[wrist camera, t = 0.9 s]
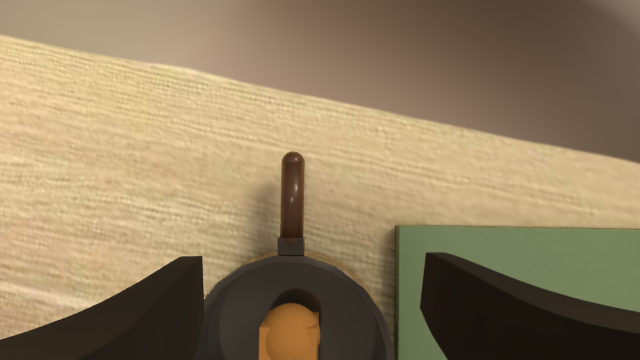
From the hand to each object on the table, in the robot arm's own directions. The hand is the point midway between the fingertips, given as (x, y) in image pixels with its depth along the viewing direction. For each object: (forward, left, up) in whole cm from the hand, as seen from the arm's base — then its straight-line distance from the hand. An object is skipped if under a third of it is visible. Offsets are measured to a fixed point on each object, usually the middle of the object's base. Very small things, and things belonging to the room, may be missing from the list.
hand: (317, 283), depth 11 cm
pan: (-8, +2, -16) cm, 18 cm away
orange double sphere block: (-8, +2, -16) cm, 18 cm away
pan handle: (+2, +2, -15) cm, 15 cm away
